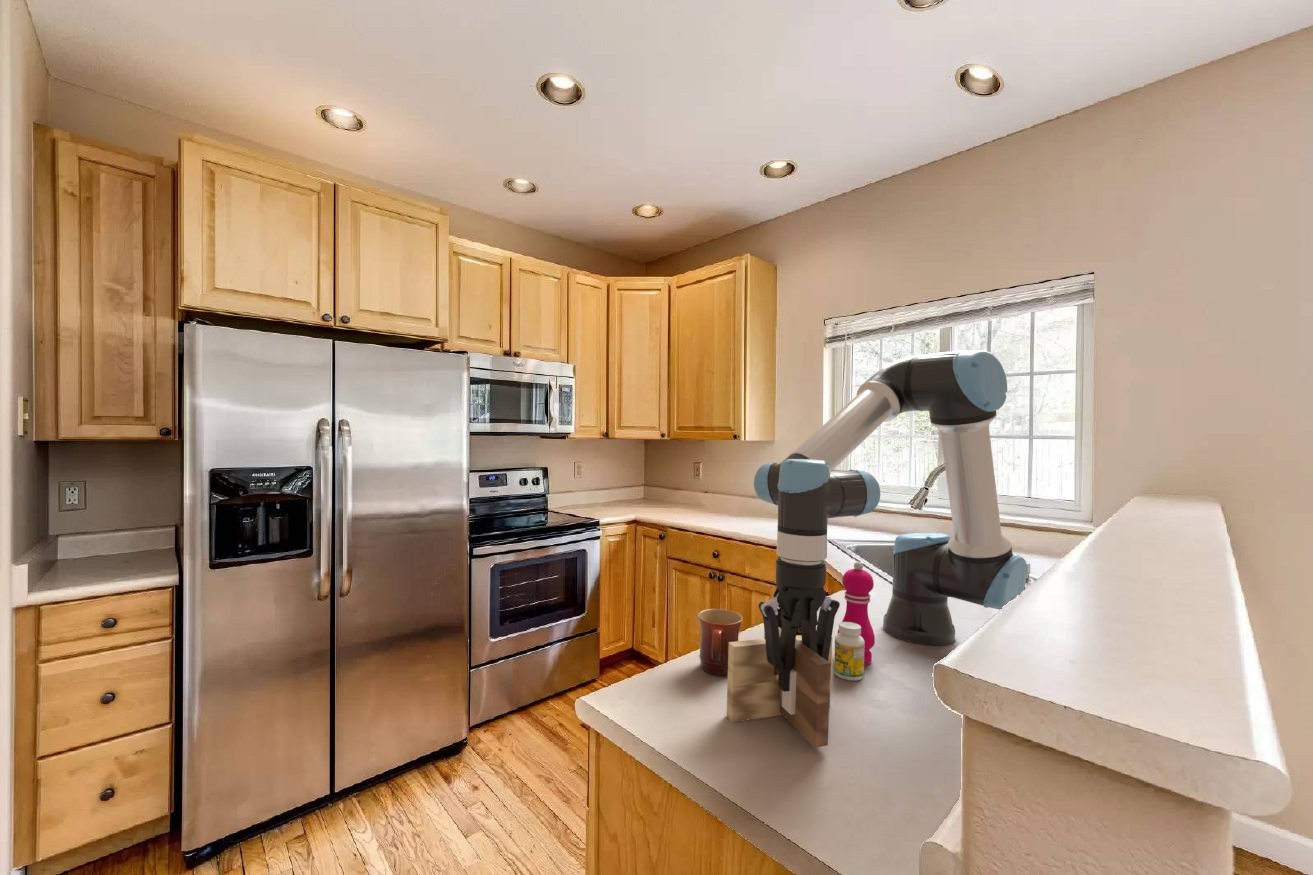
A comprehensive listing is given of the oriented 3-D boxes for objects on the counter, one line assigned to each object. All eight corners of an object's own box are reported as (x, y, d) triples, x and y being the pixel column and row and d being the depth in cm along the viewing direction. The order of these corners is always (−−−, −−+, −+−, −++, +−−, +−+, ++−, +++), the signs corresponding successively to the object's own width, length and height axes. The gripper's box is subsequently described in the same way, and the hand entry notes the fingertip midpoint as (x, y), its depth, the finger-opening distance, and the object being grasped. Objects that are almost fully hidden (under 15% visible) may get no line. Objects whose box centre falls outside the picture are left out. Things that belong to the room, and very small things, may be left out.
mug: (698, 657, 113) (700, 607, 112) (742, 662, 111) (744, 611, 111) (690, 684, 101) (692, 627, 101) (739, 690, 99) (740, 632, 99)
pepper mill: (862, 670, 109) (866, 568, 108) (829, 657, 114) (833, 560, 114) (880, 660, 114) (884, 562, 113) (848, 649, 119) (851, 555, 118)
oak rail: (822, 702, 95) (825, 632, 95) (829, 708, 94) (832, 637, 93) (726, 715, 90) (728, 642, 90) (731, 722, 88) (734, 647, 88)
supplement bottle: (869, 678, 105) (871, 628, 105) (848, 683, 103) (849, 632, 103) (848, 667, 110) (850, 618, 110) (827, 671, 108) (829, 622, 107)
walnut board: (772, 693, 96) (775, 624, 96) (827, 745, 81) (830, 663, 80) (762, 695, 95) (764, 625, 95) (815, 747, 80) (818, 664, 80)
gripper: (828, 551, 92) (823, 692, 93) (745, 555, 88) (741, 703, 88) (857, 562, 85) (852, 714, 86) (769, 567, 81) (764, 728, 81)
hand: (796, 708), depth 87 cm, fingers closed on walnut board, 2 cm apart
